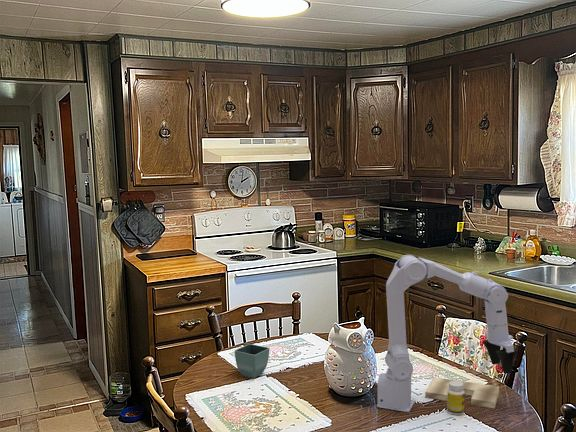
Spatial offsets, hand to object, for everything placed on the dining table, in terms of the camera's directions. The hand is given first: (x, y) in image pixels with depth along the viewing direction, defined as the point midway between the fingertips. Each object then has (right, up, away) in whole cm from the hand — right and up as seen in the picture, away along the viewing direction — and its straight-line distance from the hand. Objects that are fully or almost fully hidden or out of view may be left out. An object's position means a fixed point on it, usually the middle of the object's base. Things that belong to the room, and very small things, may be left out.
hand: (501, 368), depth 173 cm
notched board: (-9, -10, +7) cm, 15 cm away
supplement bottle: (-15, -11, -5) cm, 19 cm away
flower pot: (-75, -9, +26) cm, 79 cm away
